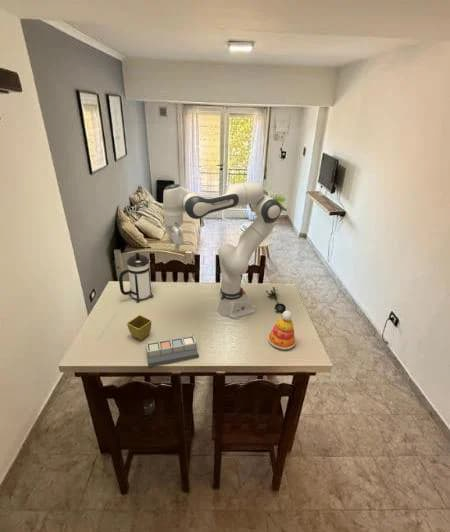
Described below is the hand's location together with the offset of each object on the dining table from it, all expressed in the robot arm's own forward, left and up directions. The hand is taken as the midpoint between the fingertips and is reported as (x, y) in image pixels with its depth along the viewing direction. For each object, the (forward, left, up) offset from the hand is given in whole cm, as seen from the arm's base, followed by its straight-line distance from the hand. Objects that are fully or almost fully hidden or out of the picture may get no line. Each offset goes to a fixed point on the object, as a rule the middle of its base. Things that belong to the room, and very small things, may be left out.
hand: (174, 246), depth 150 cm
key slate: (+4, +25, -43) cm, 50 cm away
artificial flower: (-61, -2, -45) cm, 76 cm away
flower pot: (+20, +9, -45) cm, 50 cm away
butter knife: (+36, -4, -45) cm, 58 cm away
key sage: (+15, +25, -43) cm, 52 cm away
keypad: (+7, +25, -45) cm, 51 cm away
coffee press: (+18, -28, -45) cm, 56 cm away
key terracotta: (+9, +24, -43) cm, 50 cm away
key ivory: (-2, +25, -43) cm, 50 cm away
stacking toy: (-49, +32, -45) cm, 73 cm away
